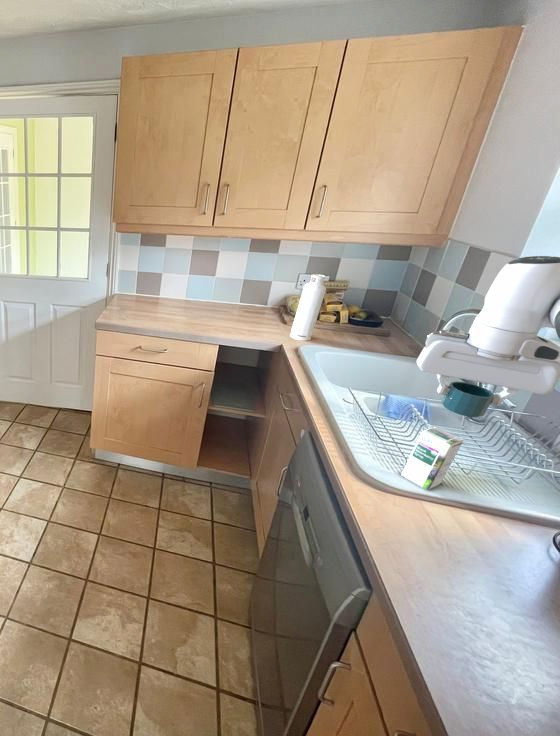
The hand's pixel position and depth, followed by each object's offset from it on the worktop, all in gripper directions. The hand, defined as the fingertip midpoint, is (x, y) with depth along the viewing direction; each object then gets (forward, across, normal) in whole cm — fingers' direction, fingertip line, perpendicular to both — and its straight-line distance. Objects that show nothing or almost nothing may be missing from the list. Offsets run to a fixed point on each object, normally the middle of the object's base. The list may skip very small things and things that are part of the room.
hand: (467, 398), depth 87 cm
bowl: (+3, 0, 0) cm, 3 cm away
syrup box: (+25, 0, +2) cm, 25 cm away
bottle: (+25, -27, +94) cm, 101 cm away
